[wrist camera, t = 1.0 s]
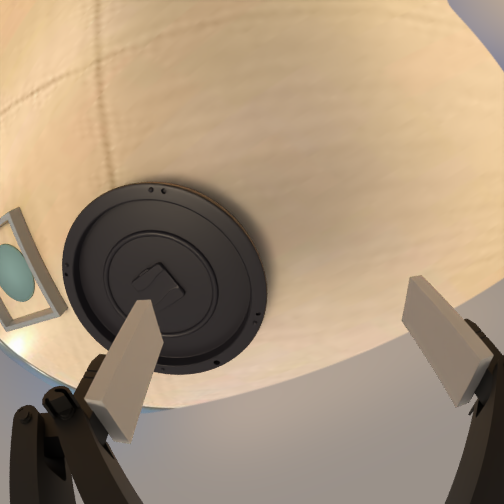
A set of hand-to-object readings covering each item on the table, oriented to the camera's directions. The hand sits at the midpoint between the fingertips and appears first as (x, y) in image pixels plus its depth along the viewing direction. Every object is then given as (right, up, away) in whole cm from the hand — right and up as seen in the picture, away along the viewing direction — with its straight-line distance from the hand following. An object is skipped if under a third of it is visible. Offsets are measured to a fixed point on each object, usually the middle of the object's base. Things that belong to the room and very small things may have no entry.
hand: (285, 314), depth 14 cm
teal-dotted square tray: (-47, -1, +29) cm, 55 cm away
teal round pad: (-47, -1, +29) cm, 55 cm away
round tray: (-15, -1, +30) cm, 33 cm away
